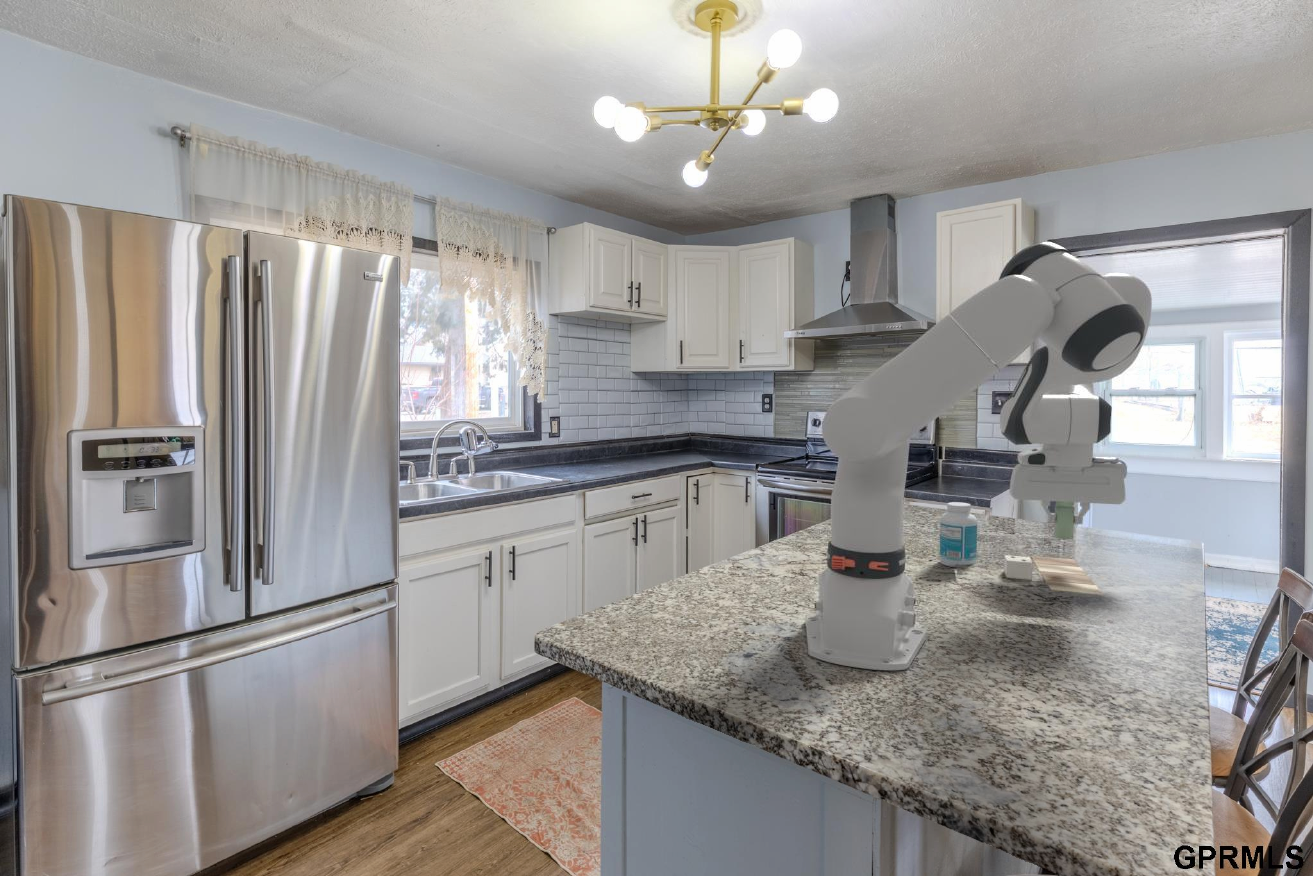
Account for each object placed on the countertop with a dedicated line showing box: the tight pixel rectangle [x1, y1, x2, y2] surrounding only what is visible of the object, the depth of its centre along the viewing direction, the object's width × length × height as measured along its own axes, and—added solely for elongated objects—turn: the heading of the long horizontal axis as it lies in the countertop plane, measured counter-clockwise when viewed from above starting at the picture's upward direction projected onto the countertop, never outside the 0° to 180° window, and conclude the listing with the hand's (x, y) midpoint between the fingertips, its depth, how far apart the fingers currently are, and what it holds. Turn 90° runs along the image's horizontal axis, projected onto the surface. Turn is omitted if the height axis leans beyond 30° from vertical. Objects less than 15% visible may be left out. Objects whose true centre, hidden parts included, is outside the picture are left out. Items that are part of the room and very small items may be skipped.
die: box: [1003, 554, 1034, 581], centre depth 133 cm, size 4×4×5 cm
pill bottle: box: [939, 501, 978, 568], centre depth 144 cm, size 8×7×14 cm
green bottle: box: [1053, 501, 1076, 540], centre depth 136 cm, size 3×3×9 cm
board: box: [1028, 555, 1104, 596], centre depth 134 cm, size 26×9×1 cm, turn 158°
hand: (1064, 522), depth 136 cm, fingers closed on green bottle, 3 cm apart
